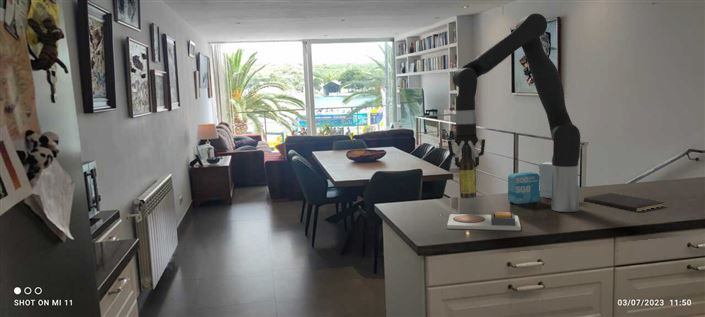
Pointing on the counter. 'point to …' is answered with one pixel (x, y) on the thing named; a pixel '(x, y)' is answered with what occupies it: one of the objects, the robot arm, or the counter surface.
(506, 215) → the button
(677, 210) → the counter surface
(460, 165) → the sauce bottle
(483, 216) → the white control panel
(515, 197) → the data package
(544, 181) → the skincare box
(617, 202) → the hardcover book
